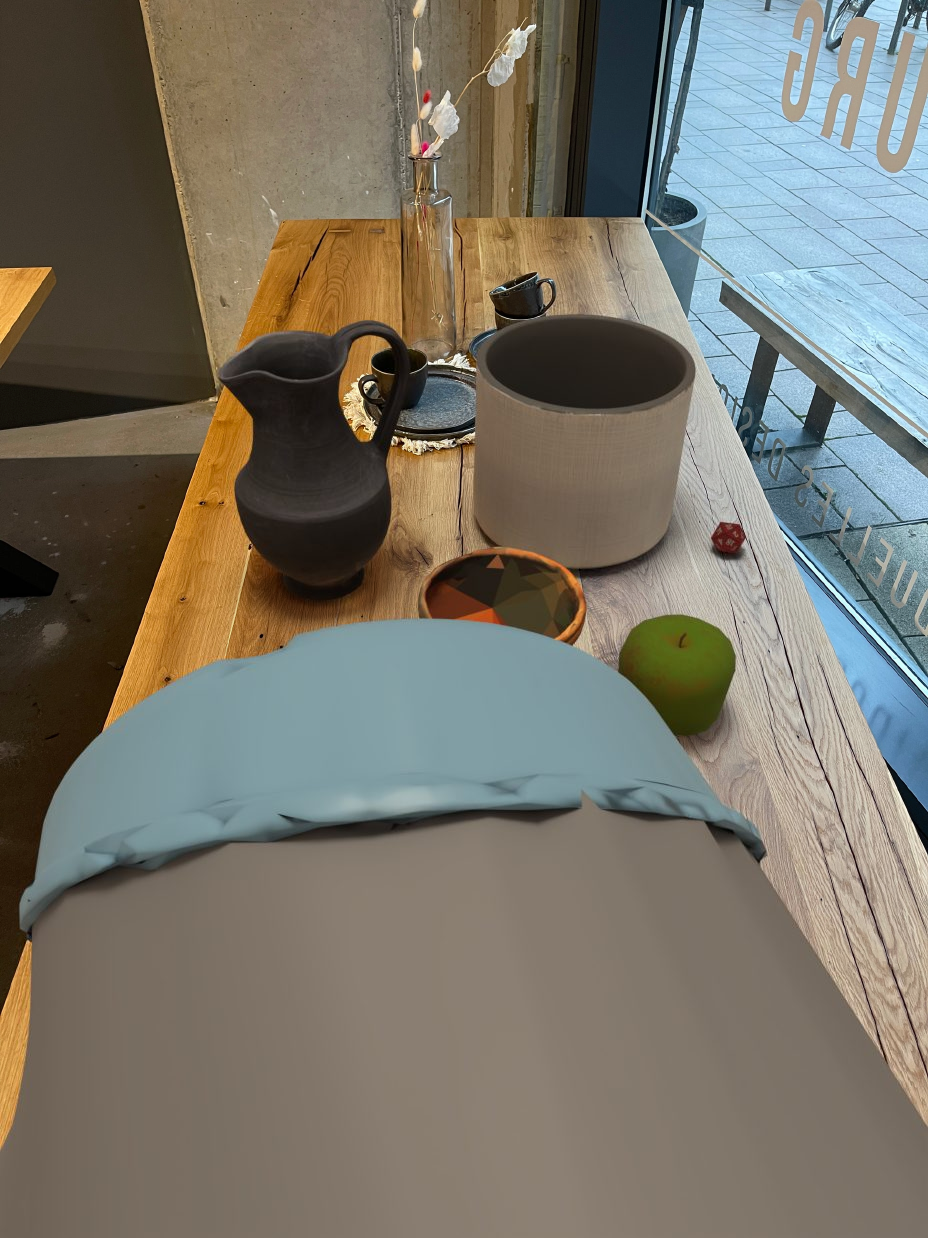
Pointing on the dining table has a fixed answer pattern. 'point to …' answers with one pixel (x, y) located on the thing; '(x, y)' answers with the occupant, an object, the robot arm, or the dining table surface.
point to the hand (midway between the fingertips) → (461, 869)
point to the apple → (680, 669)
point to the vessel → (506, 593)
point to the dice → (728, 537)
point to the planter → (579, 437)
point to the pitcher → (313, 458)
